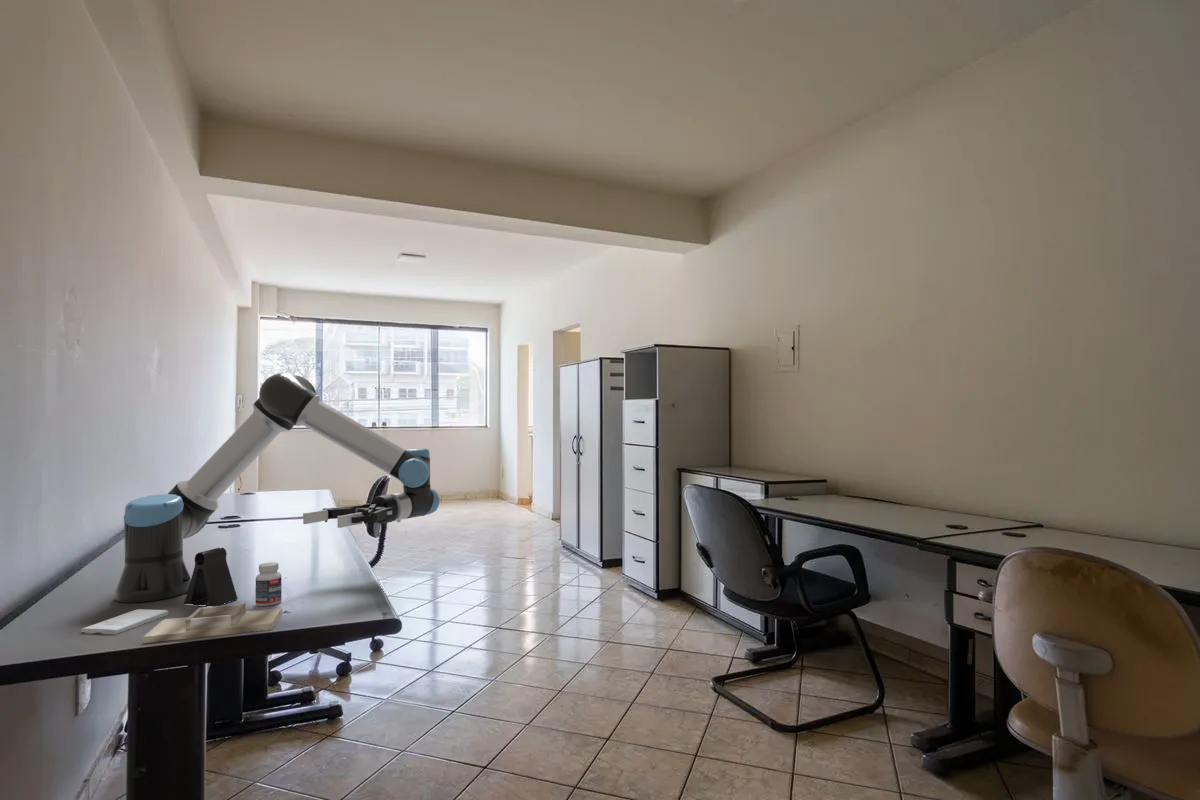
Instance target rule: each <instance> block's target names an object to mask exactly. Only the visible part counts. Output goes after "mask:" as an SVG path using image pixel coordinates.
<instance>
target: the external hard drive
mask: <svg viewBox="0 0 1200 800" xmlns="http://www.w3.org/2000/svg"><path fill="white" fill-rule="evenodd" d="M167 614H168V615H169V611H168V610H167V609H142V608H138V609H135V610H131V611H128V612H125V613H122V614H119V615H117V616H114V617H112V618H108V619H106V620H102V621H100V622H97V623H95V624H91V625H89V626H85V627H82V628H81V629H80V633H81V632H86V633H85V634H93V633H96V634H101V633H102V634H101V635H118V634H117V633H119V634H121V633H124V632H126V630H127V631H129V630H132V629H134V627H135V628H137V627H140V626H143V625H145V624H148V623H150V621H151V622H153V621H156V620H158V618H159V619H161V618H164V617H166V616H165V615H167ZM168 615H167V616H168ZM163 616H164V617H163ZM160 617H161V618H160ZM147 622H148V623H147ZM144 623H145V624H144ZM142 624H143V625H142ZM139 625H140V626H139ZM131 628H132V629H131ZM128 629H129V630H128ZM123 631H124V632H123ZM120 632H121V633H120Z"/></svg>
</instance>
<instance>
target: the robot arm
mask: <svg viewBox="0 0 1200 800" xmlns="http://www.w3.org/2000/svg"><path fill="white" fill-rule="evenodd" d="M258 394H259V395H258V397H259V398H257V399H256V401H255V402H253V405H252V406H253V408H252V409H253V413H252V414H250V415H249V417H247V419H246V420H245V421H244V422H243V423H242V424H241V425H240V426H239V427H238V428H237V429H236V430H235V431H234V432H233V433H232V434H231V435H230V436H229V438H228V439H227V440H226V441H225V442H224V443H222V445H221V446H220V447H219V448H218V449H217V450H216V451H215V452H214V453H213V454H212V455H211V457H210V458H208V460H207V461H206V462H204V463H203V465H202V466H201V467H200V468H199V469H198V470H197V471H196V472H195V473H194V474H193V476H191V478H189V479H188V480H182V481H178V482H177V483H176V484H175V485H174V487H172V488H171V489H170V491H168V492H167V493H161V494H154V495H153V494H152V495H147V496H144V497H138V498H134V499H132V500H130V501H128V502H127V504H126V506H125V508H124V514H123V521H124V526H123V527H124V567H123V570H122V572H121V574H120V578H119V580H118V583H117V585H116V588H115V600H116V602H120V603H128V604H129V603H130V604H131V603H144V602H145V601H146V602H152V601H160V600H165V599H170V598H174V597H178V596H180V595H183V594H187V591H188V588H189V585H190V581H191V578H192V577H191V576H190V574H189V571H188V568H187V566H186V563H185V561H184V539H188V538H191V537H193V536H194V535H196V534H198V533H199V532H201V530H203V529H204V527H205V526H206V524H207V523H208V521H209V519H210V517H211V516H212V515H213V514H214V513H215V511H216V510H218V508H219V504H218V500H219V499H220V498H221V496H223V494H224V493H225V492H226V491H227V490H229V488H230V487H231V486H232V485H233V484H234V483H235V481H236V480H237V479H238V478H239V477H240V476H241V475H242V474H243V473H244V472H245V471H246V470H247V468H248V467H249V466H250V465H251V464H252V463H253V462H254V461H255V460H256V459H257V458H258V457H259V456H260V455H261V453H262V452H263V451H265V449H267V447H268V446H269V445H270V444H271V443H272V442H273V441H274V439H276V437H278V436H279V435H280V433H283V432H290V431H291V430H292V429H293V427H295V426H296V427H301V426H302V427H303V426H304V427H306V428H307V429H309V430H311V431H313V432H314V433H316V434H318V435H320V436H321V437H323V438H325V439H326V440H328V441H330V442H332V443H334V444H336V445H337V446H339V447H341V448H343V449H345V450H347V451H348V452H350V453H351V454H353V455H355V456H357V458H358V457H359V458H360V459H362V460H364V461H366V462H368V463H369V464H371V465H372V466H375V467H376V468H378V469H380V470H381V471H384V472H385V473H387V474H389V475H391V476H392V477H393V478H395V479H397V480H398V481H400V482H401V484H402V485H403V487H402V488H403V491H401V492H395V493H394V492H393V493H390V494H382V495H377V496H375V497H374V498H373V499H372V501H371V503H364V504H357V505H349V506H348V505H347V506H338V507H328V508H327V507H326V508H322V509H321V510H315V511H310V512H309V511H308V512H303V513H302V519H303V520H302V522H303V523H302V524H303V525H309V524H313V523H314V524H315V523H319V522H324V523H328V521H329V520H332V519H333V520H336V519H337V529H341V528H346V527H351V526H356V525H362V524H369V522H370V524H372V525H373V524H375V523H377V524H379V525H382V524H388V523H393V522H396V523H401V521H402V520H406V519H407V520H408V519H412V518H419V517H424V516H426V515H431V514H433V513H435V512H436V511H437V510H438V509H439V505H440V497H439V495H438V492H437V491H436V490H435V489H434V488H431V457H430V451H429V449H428V448H407V449H404V448H402V447H401V446H399V445H397V444H395V443H393V442H392V441H390V440H388V439H387V438H385V437H383V436H382V435H380V434H378V433H376V432H375V431H373V430H371V429H370V428H368V427H366V426H365V425H364V424H361V423H359V422H357V421H356V420H355V419H353V418H351V417H349V416H348V415H346V414H344V413H342V412H340V411H339V410H337V409H336V408H334V407H332V406H331V405H329V404H327V403H325V402H324V401H322V400H321V397H320V395H319V394H318V393H317V390H316V388H315V387H314V385H313V384H312V383H311V382H310V381H309V380H308V379H306V378H305V377H304V376H301V375H295V374H292V373H287V372H281V373H276V374H273V375H271V376H269V377H267V378H266V379H265V380H264V382H263V383H262V384H261V387H260V388H259V391H258Z"/></svg>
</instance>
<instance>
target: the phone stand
mask: <svg viewBox="0 0 1200 800" xmlns="http://www.w3.org/2000/svg"><path fill="white" fill-rule="evenodd" d="M227 561H228V560H227V550H226V549H225V548H224V547H216V548H212V549H209V550H204V551H200V552H198V553H196V554H195V556H194V568H193V571H192V575H191V577H190V578H191V581H190V585H189V588H188V591H187V592H186V595H185V597H184V598H185V599H184V602H183V605H184V604H193V605H206V606H219V605H220V606H222V605H221V604H223V605H225V604H224V603H226V604H228V603H227V602H229V601H231V602H233V601H232V600H234V601H236V600H235V599H237V600H238V595H237V592H236V588H235V585H234V582H233V578H232V575H231V572H230V569H229V568H230V567H229V565H228V562H227ZM229 603H230V602H229Z"/></svg>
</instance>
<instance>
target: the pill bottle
mask: <svg viewBox="0 0 1200 800" xmlns="http://www.w3.org/2000/svg"><path fill="white" fill-rule="evenodd" d="M279 568H280V567H279V563H278V562H273V561H271V562H270V561H269V562H265V563H261V564H258V572H259V573H258V574H257V575H256V576H255V598H254V599H255V605H256V606H257V607H270V606H269V605H271V606H274V604H275V605H278V604H280V603H281V602H282V598H283V597H282V573H281V572H279V571H278V570H279ZM277 603H278V604H277Z"/></svg>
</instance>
